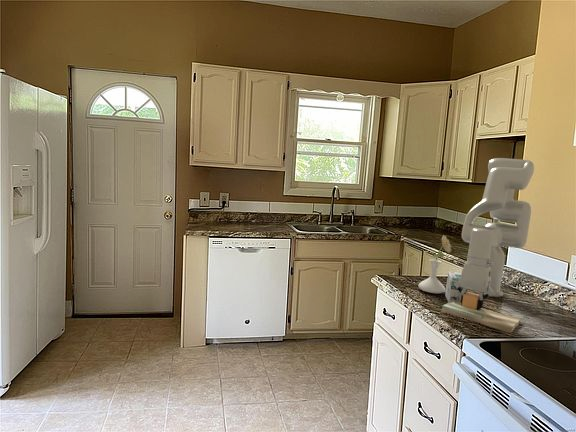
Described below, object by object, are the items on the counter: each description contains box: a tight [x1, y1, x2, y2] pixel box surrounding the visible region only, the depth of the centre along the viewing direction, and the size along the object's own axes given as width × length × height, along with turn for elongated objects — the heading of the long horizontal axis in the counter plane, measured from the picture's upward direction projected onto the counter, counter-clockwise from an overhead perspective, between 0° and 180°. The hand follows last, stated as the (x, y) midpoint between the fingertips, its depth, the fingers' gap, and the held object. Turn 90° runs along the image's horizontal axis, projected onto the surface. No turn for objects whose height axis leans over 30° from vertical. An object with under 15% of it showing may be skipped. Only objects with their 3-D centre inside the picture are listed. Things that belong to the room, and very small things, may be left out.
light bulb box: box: [444, 270, 468, 303], centre depth 180 cm, size 11×7×11 cm, turn 168°
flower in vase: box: [418, 234, 452, 294], centre depth 189 cm, size 13×11×25 cm
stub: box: [462, 291, 479, 310], centre depth 167 cm, size 6×5×5 cm
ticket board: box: [441, 301, 522, 334], centre depth 162 cm, size 14×24×2 cm, turn 50°
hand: (471, 306), depth 168 cm, fingers closed on stub, 5 cm apart
